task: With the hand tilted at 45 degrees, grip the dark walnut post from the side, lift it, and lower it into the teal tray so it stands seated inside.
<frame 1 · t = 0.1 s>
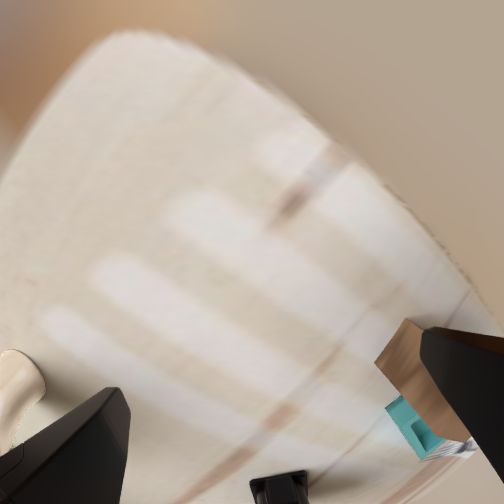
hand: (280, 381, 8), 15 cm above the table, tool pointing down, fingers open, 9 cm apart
teal tray: (432, 400, 27), on the table
walnut post: (405, 349, 25), on the table
beer glass: (23, 374, 22), on the table
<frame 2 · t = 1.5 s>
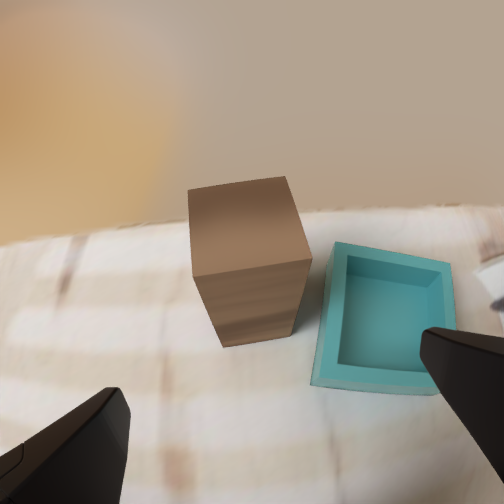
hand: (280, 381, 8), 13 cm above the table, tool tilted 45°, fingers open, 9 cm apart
teal tray: (381, 330, 22), on the table
walnut post: (251, 311, 23), on the table
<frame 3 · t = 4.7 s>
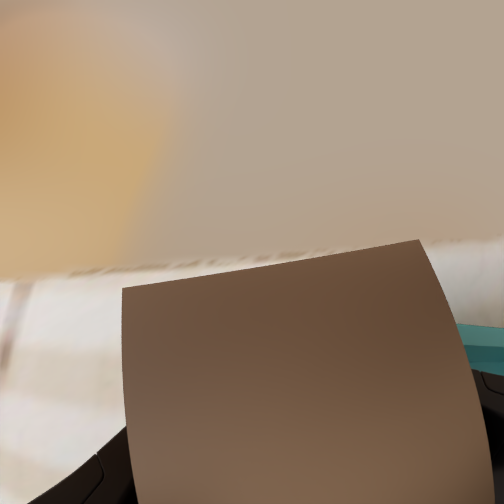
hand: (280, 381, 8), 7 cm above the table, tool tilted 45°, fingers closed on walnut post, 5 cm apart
teal tray: (461, 433, 11), on the table
walnut post: (277, 429, 12), on the table, touching gripper
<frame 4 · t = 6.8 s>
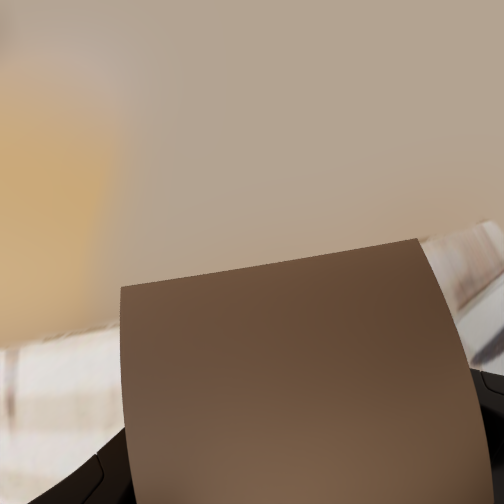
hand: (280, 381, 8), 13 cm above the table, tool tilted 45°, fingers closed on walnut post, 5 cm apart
walnut post: (277, 428, 12), point 7 cm above the table, touching gripper
when the fingers open (9 cm above the table, at t = 9.1 s): walnut post drops 2 cm, resting on teal tray.
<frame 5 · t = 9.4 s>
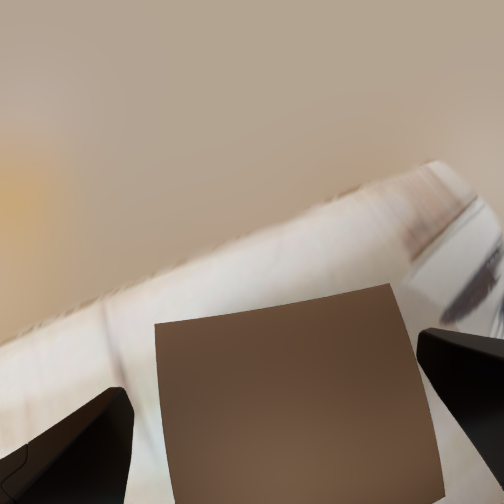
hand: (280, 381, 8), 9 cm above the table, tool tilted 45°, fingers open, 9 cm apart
walnut post: (276, 428, 14), point 1 cm above the table, touching teal tray
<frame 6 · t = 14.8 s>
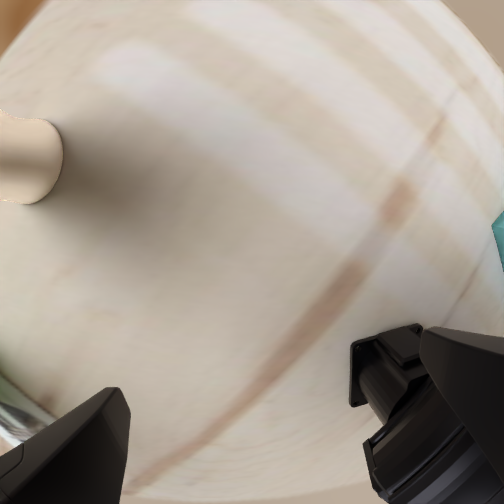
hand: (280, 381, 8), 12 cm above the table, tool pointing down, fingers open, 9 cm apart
beer glass: (32, 161, 17), on the table
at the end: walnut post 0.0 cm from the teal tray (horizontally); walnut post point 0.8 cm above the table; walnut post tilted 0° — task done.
